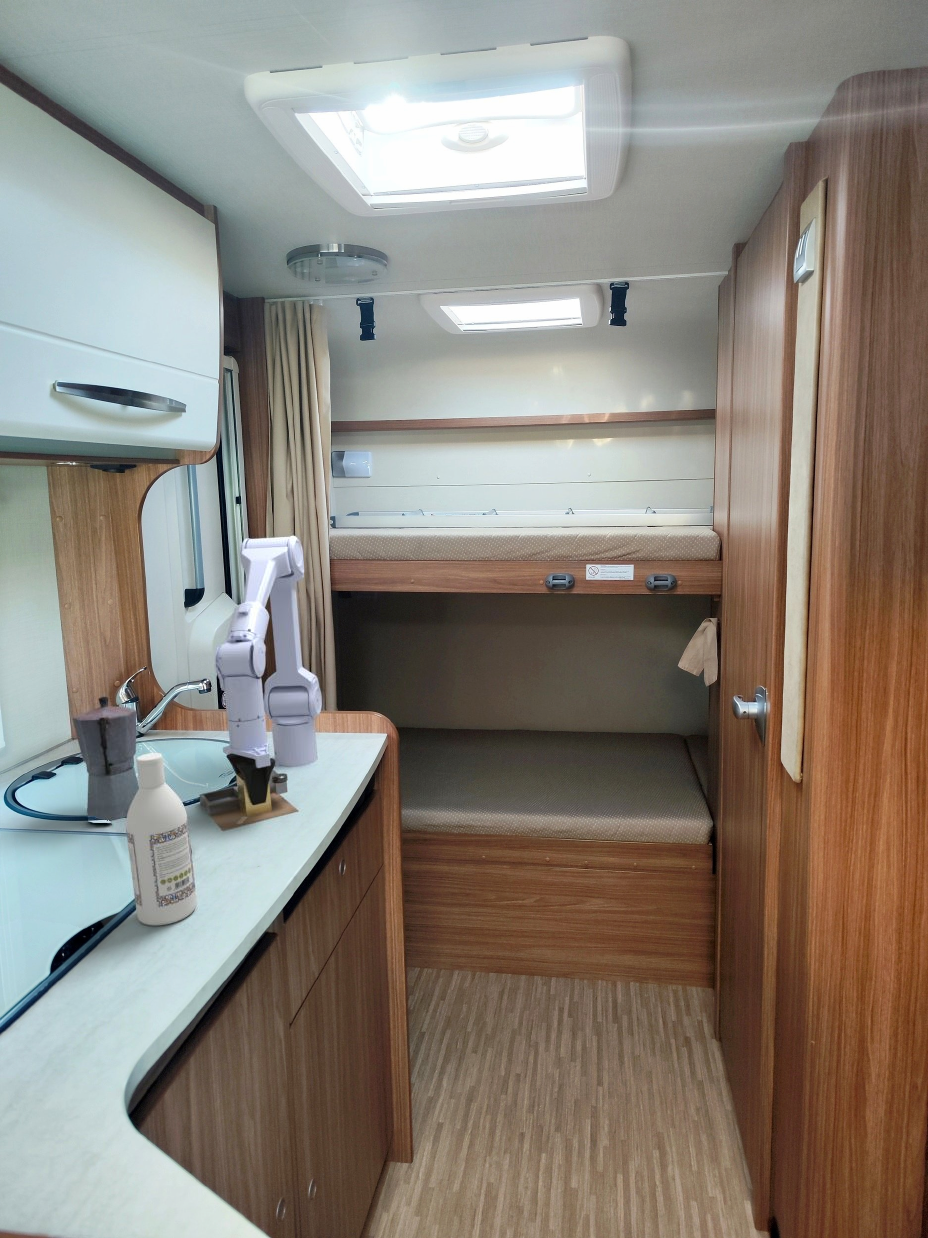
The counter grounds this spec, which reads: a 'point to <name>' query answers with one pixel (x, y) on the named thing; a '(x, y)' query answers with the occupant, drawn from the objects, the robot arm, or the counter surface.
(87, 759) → the moka pot
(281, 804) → the base
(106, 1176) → the counter surface
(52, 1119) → the counter surface
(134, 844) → the bath foam
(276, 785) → the crank
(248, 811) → the block
